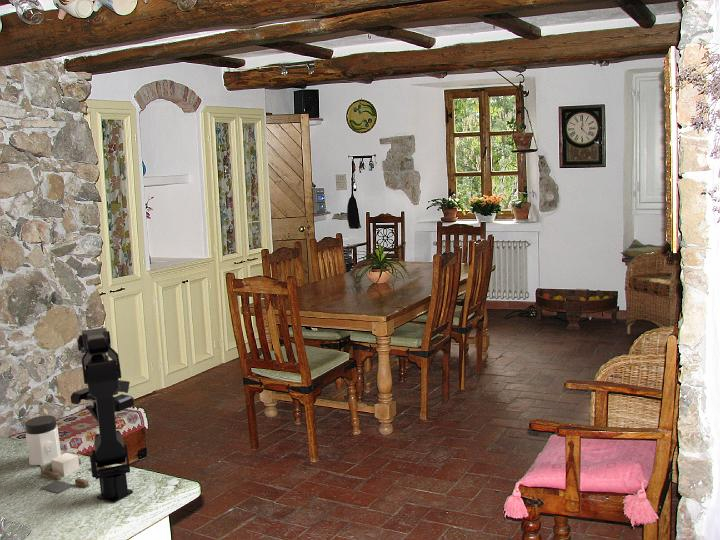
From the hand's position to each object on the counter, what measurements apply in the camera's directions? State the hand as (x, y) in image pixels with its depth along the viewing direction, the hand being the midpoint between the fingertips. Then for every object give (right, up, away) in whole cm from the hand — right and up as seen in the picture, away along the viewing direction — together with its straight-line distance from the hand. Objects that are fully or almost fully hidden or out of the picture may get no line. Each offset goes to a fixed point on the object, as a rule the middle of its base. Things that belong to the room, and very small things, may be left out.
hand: (105, 429), depth 204 cm
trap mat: (-11, -14, -6) cm, 19 cm away
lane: (-8, -12, +1) cm, 15 cm away
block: (-12, -12, +4) cm, 18 cm away
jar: (-21, -12, +12) cm, 27 cm away
